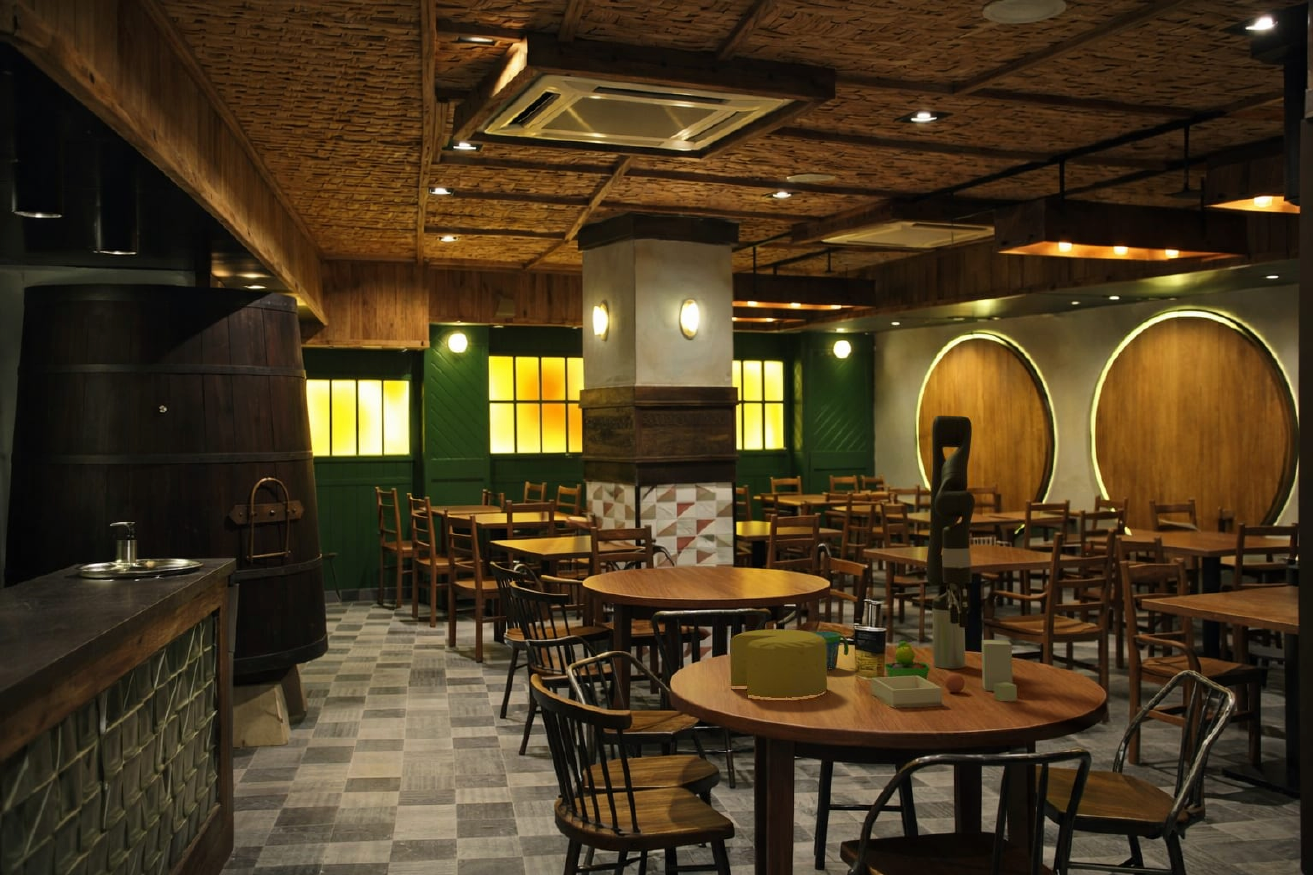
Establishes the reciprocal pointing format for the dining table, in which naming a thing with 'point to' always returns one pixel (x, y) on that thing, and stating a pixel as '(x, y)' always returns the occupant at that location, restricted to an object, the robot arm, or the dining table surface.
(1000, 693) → the green block
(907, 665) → the fruit basket
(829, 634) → the snack cup
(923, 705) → the bin
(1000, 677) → the supplement box
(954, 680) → the ball
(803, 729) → the dining table surface
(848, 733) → the dining table surface
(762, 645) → the cheese
